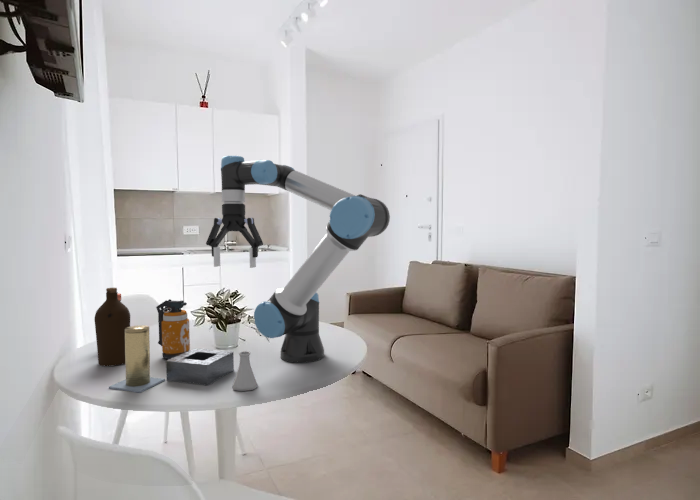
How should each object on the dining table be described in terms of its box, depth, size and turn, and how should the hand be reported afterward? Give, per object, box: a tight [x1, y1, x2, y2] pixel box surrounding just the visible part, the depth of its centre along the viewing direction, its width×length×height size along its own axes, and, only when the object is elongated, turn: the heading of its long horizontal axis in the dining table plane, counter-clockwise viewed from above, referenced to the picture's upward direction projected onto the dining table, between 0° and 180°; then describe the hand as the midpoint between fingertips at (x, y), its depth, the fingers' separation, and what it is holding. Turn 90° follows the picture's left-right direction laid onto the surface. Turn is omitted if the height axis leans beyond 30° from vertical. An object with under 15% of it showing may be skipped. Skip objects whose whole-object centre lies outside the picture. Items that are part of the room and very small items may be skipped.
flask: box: [232, 350, 259, 392], centre depth 130 cm, size 7×7×10 cm
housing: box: [165, 347, 235, 386], centre depth 140 cm, size 14×14×6 cm
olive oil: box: [93, 287, 131, 367], centre depth 153 cm, size 11×11×25 cm
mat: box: [108, 376, 166, 393], centre depth 133 cm, size 11×10×1 cm
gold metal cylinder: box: [124, 324, 151, 387], centre depth 132 cm, size 6×6×16 cm
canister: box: [155, 298, 191, 360], centre depth 159 cm, size 9×11×20 cm
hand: (234, 267), depth 154 cm, fingers open, 13 cm apart
